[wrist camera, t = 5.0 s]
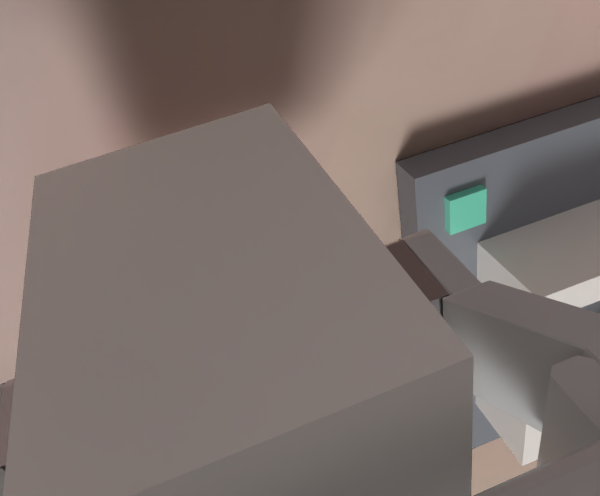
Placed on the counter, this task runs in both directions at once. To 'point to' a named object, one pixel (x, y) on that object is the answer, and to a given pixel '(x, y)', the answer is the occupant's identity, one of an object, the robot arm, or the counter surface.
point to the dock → (516, 221)
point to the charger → (226, 333)
